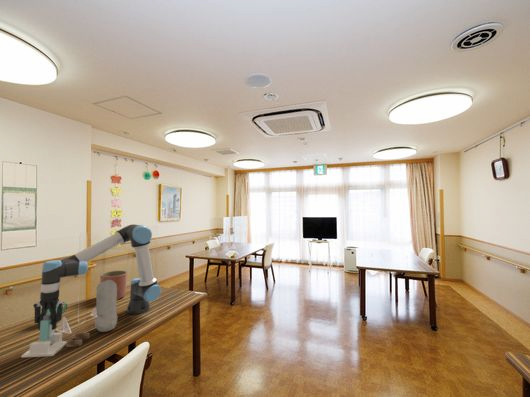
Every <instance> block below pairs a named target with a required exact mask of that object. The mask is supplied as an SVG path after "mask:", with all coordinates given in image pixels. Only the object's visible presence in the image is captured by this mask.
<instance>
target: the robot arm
mask: <svg viewBox="0 0 530 397" xmlns="http://www.w3.org/2000/svg"><path fill="white" fill-rule="evenodd" d="M152 236H153V232H152V230H151V229H150V228H149V227H148V226H145V225H143V224H129V225H126V226H124V227H122V228H120V229H119V230H116V231H115V232H114V234H112V235H110V236H108V237H106V238H104V239H102V240H100V241H98V242H97V243H95V244H92V245H90V246H89V247H87V248H84V249H83V250H81V251H78V252H77V253H75V254H73V255H71V256H69V257H63V258H61V259H59V260H56V259H55V260H47V261H45V262H44V263H43V265H42V270H41V282H40V283H41V285H40V295H39V296H40V297H39V299H40V301H39V302H36V303H34V304H33V309H34V324H38V331H40V322H41V320H43V316H45V315H46V314H47V310H48V309H49V311H50V314H51V322H52V323H51V324H50V329H49V337H51V336H52V335H54V333H55V329H56V328H57V324H58V322H60V321H62V316H63V314H62V310H63V308H64V303H66V302H65V301H63V302H62V301H60V299H59V297H60V287H61V279H62V278H67V277H73V276H74V277H75V276H80V275H85V274H87V272H88V270H89V264H88V262H89V261H91V260H93V259H94V258H96V257H98V256H100V255H102V254H104V253H106V252H108V251H110V250H111V249H113V248H115V247H117V246H119V245H122V244H126V243H127V242H130V246H131V247H132V248H133V249H134V252H135V258H136V264H137V270H138V275H139V277H138V278H137V277H136V278H133V279H132V280H131V281H130V282H131V283H130V294H129V296H130V297H129V302H128V305H127V308H126V313H127V314H129V315H139V314H144V313H146V312H148V311H149V310H150V309H151V308H150V307H151V304H150V302H154V301H156V300H157V299H158V298H159V297H160V296H161V294H162V288H161V286H160V285H159V284H158V280H157V278H156V277H155V275H154V271H153V266H152V265H153V264H152V259H151V254H150V248H149V247H150V246H149V245H150V244H151V239H152ZM57 304H58V308H57V314H56V305H57ZM41 308H42V310H41Z"/></svg>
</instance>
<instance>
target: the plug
mask: <svg viewBox="0 0 530 397" xmlns="http://www.w3.org/2000/svg"><path fill="white" fill-rule="evenodd" d="M51 323H52V322H51V314H50V313H48V314H46V315H45V316H43V320H41V322H40V330H39V337H38V342H43V341H47V340H48V339H50V338H51V337H52V336H54V335H52V336H51V337H49V329H50V324H51Z"/></svg>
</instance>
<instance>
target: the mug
mask: <svg viewBox="0 0 530 397" xmlns="http://www.w3.org/2000/svg"><path fill="white" fill-rule="evenodd" d="M67 307H68V303H66V302H65V303H64V305H63V310H62V315H63V314H64V313H65V312H66V310H67V309H68V308H67ZM57 308H58V304H57V305H56V314H57ZM41 310H42V307H41ZM48 313H50V311H49V309H48V310H47V314H48Z"/></svg>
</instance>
